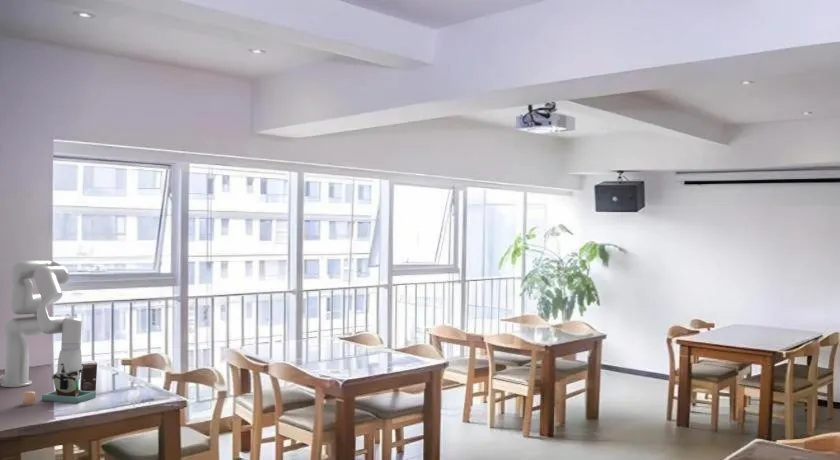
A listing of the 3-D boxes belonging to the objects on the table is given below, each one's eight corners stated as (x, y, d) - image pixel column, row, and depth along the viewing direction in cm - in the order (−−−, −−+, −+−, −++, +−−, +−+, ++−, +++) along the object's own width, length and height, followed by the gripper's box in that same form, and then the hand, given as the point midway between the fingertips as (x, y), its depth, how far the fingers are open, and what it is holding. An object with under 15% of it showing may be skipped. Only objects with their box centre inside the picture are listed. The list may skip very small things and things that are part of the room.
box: (82, 391, 312) (83, 365, 312) (79, 389, 316) (81, 363, 316) (96, 390, 316) (97, 364, 316) (94, 388, 319) (95, 362, 320)
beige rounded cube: (20, 405, 285) (20, 393, 285) (28, 402, 290) (28, 390, 290) (29, 405, 285) (29, 393, 285) (37, 403, 289) (37, 391, 289)
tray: (41, 400, 294) (42, 394, 294) (60, 394, 306) (60, 389, 306) (78, 403, 291) (78, 397, 291) (95, 397, 302) (95, 391, 302)
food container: (88, 392, 302) (86, 371, 300) (78, 398, 296) (76, 376, 294) (64, 390, 304) (61, 369, 303) (54, 396, 298) (51, 374, 297)
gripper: (76, 342, 308) (75, 382, 308) (49, 348, 291) (47, 391, 291) (91, 344, 306) (90, 384, 306) (64, 350, 289) (63, 392, 289)
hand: (69, 387), depth 298 cm, fingers open, 6 cm apart
